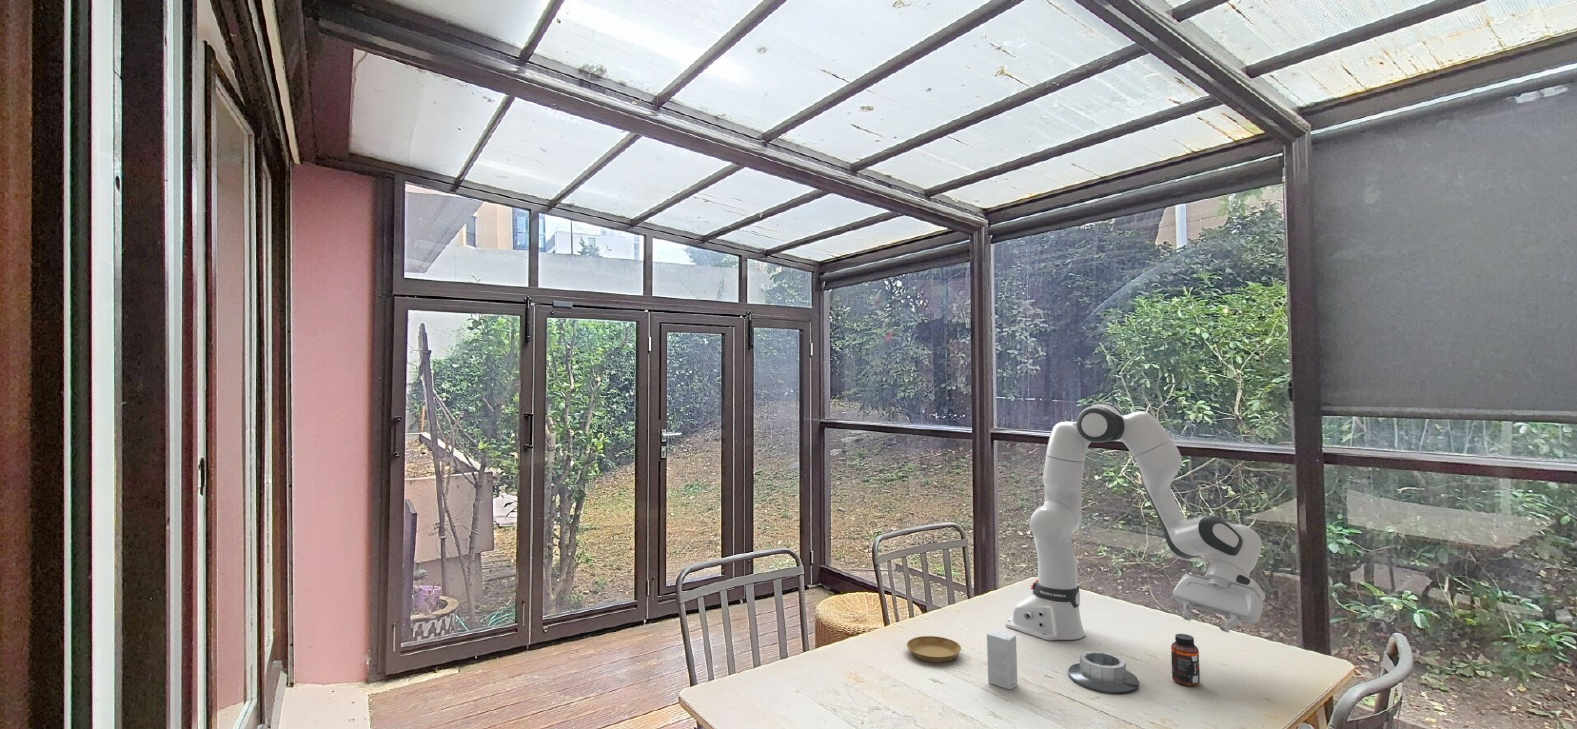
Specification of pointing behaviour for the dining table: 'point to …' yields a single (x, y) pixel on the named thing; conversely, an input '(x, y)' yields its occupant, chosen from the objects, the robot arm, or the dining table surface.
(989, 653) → the skincare box
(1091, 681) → the duct collar
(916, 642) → the plant saucer
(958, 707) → the dining table surface
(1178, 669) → the supplement bottle
